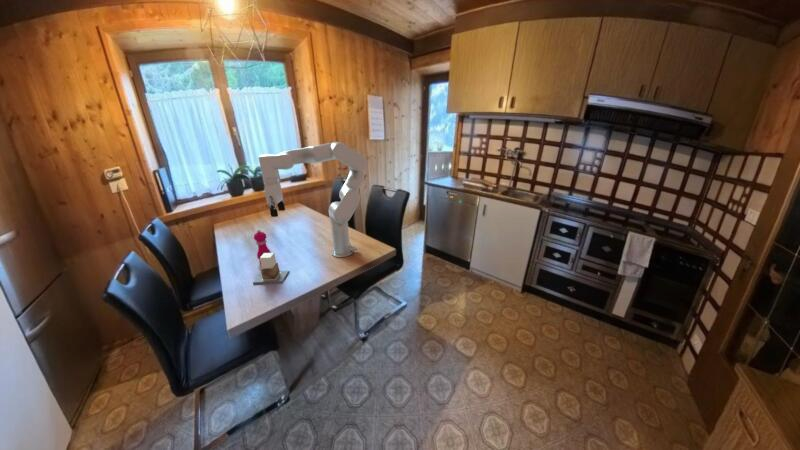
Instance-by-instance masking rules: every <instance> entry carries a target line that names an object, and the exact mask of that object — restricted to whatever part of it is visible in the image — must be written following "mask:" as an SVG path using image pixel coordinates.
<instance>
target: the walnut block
mask: <svg viewBox="0 0 800 450" xmlns="http://www.w3.org/2000/svg"><path fill="white" fill-rule="evenodd" d="M279 268H280V267H279V264H278V262H276V264H275V266H274V267H273V268H267V269H262V267H261V268H260V273H262V277H263V280H269V279H276V278H277V276H278V275H279V273H280V271H281V270H280V269H279Z"/></svg>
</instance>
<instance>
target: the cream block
mask: <svg viewBox="0 0 800 450" xmlns="http://www.w3.org/2000/svg"><path fill="white" fill-rule="evenodd" d="M260 261H261V264H260V265H261V268H262V269H267V268H273V267H274V266H275V264H276V263H277V259H276V256H275V252H271V253H264V254H263V255H262V256H261V257H260Z"/></svg>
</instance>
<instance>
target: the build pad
mask: <svg viewBox="0 0 800 450" xmlns="http://www.w3.org/2000/svg"><path fill="white" fill-rule="evenodd" d="M279 271H280V273H279V275H278V276H277V278H276V279H269V280H263V277H262V273H261V272H260V273H259V275H257V277H256V278H255V279H254V281H253V282H252V284H253V285H263V284H265V285H266V284H267V285H268V284H269V285H270V284H283V283H284V281H285V280H286V278H287V276H288V275H289V274H290V270H279Z"/></svg>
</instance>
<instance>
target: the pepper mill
mask: <svg viewBox="0 0 800 450" xmlns="http://www.w3.org/2000/svg"><path fill="white" fill-rule="evenodd" d="M253 239H254V241H255V242H256V245H257V246H258V250H257V254H256V256H257V257H256V258H257V259H258V260H259V265H261V261H260V257H261V256H262V255H263V254H264V253H272V252H271V250H270V249H269V248H268V247H267V246H268V245H267V234H266V233H265V232H264V231H261V229H257V230H256V232H255V234H254V235H253Z"/></svg>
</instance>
